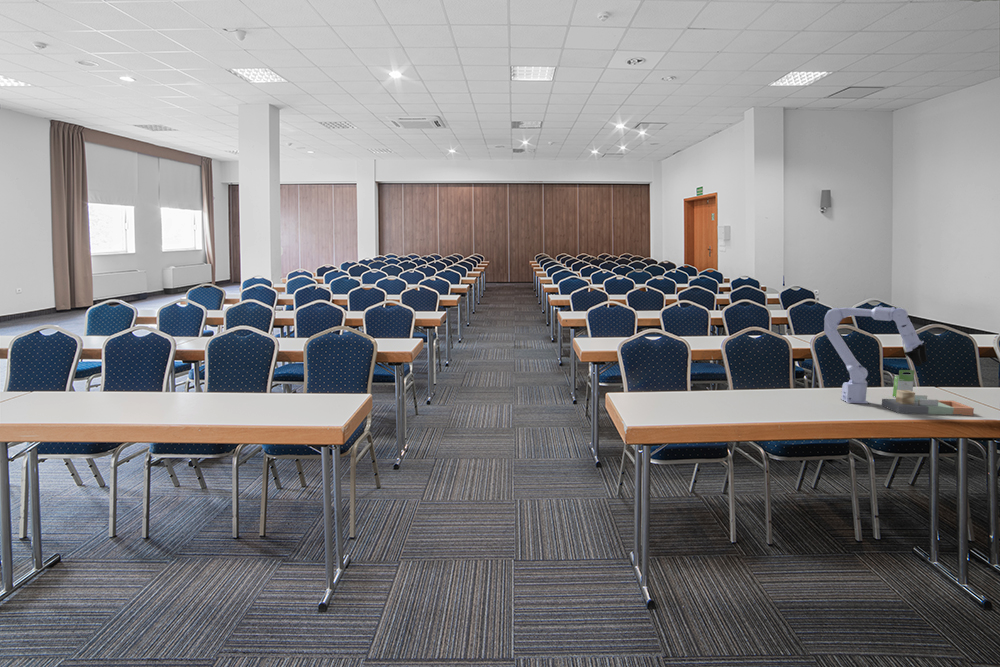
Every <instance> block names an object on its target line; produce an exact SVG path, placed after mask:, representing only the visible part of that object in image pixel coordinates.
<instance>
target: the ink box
mask: <svg viewBox="0 0 1000 667" xmlns="http://www.w3.org/2000/svg"><path fill="white" fill-rule="evenodd" d="M904 373H906V374H904ZM907 373H910V374H907ZM914 378H915V370H914V369H910V370H909V369H899V371H898V375H894V379H893V387H892V397H893V396H895V397H896V393H897V390H909V391H912V392H914V390H913V389H914ZM895 397H894V398H895Z"/></svg>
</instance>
